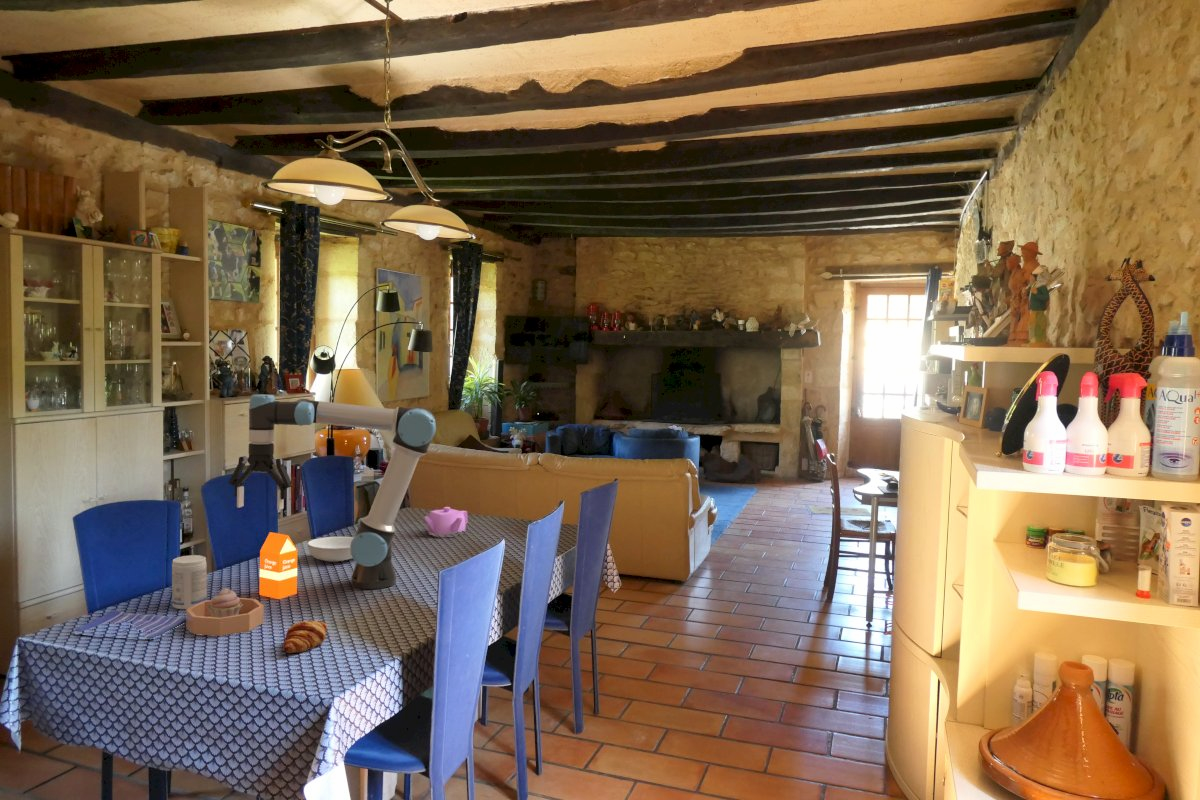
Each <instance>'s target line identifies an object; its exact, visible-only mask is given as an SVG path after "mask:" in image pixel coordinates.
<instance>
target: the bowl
mask: <svg viewBox="0 0 1200 800" xmlns="http://www.w3.org/2000/svg"><path fill="white" fill-rule="evenodd" d="M238 598H239V599H240V602H241V604H243V605H242V607H241V609H240V611H239V614H238V615H234V616H228V617H222V618H217V617H211V613H210V611H209V609H208V607H207V606H210V604H212V599H210V600H209V599H207V601H202V602H200V603H198V604H196V605H194V606H192V607H190V608H188V609H185V617H186V623H185V627H186V628H187V630H188V629H189V630H190V631H191V632H192V633H194V634H202V635H201V636H204V635H215V636H214V637H217V636H220V637H222V636H221V635H226V636H229V635H228V634H232V635H235V634H234V633H237V634H242V633H248V632H251V631H252V630H254V629H255V628H257V627H259V626H260V625H262V624H263V623H264V610H265V609H264V608H265V605H264V604H262V603H261V602H260V601H258V600H257V599H256V598H249V597H248V598H246V597H238ZM189 630H188V631H189ZM190 631H189V632H190ZM191 632H190V633H191ZM241 632H242V633H241ZM192 633H191V634H192Z"/></svg>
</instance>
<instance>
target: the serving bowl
mask: <svg viewBox="0 0 1200 800" xmlns="http://www.w3.org/2000/svg"><path fill="white" fill-rule="evenodd" d="M354 537H355V536H328V537H319V538H318V537H317V538H315V539H312V540H310V541H308V542H307V548H308V551H309V553H310V555H311V556H312V557H313V558H315V559H317V560H319V561H324V562H327V563H328V562H329V563H339V562H338V561H341V562H345V561H344V560H346V561H348V560H351V559H353V558H352V556H351V552H350V544H351V542H352V540H353V539H354Z"/></svg>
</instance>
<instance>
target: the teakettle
mask: <svg viewBox="0 0 1200 800" xmlns="http://www.w3.org/2000/svg"><path fill="white" fill-rule="evenodd" d="M468 517H469V516H468V511H467V510H458V509H455V508H454V509H453V508H451V507H450V506H445V507H443V508H442V509H434V510H430V512H429V515H426V516H423V520H424V521H425V523H426V526H427V527H426V532H427V531H428V532H431V533H434V534H437V535H445V534H452V533H457V532H462V531H465V532H466V525H467V524H469V520H468ZM428 532H427V533H428Z"/></svg>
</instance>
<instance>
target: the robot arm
mask: <svg viewBox="0 0 1200 800" xmlns="http://www.w3.org/2000/svg"><path fill="white" fill-rule="evenodd" d="M275 397H276V396H275V395H273V394H261V393H259V394H252V395H251V396H250V398H249V407H248V415H249V416H248V442H249V444H248V457H247V456H246V455H242V456H239V457H238V463H237V466H236V468H235V469H234V472H233V474H232V475H231V477H230V479H229V481H228V484H229V485H230V486H231V485H232V486H233V487H234V497H235V498H236V508H242V507H244V506H245V505H244V503H245V501H244V500H245V486H244V485H243V484H244V483H245V482H246V481H247V479H249V477H250V476H251V475H252V474H253V472H262V473H265V472H266V473H267V474H268V475H269V476H270V477H271V479H272V480H273V481H274V483H275V484H276V485H277V487H278V488H279V489H277V502H276V503H277V504H276V510H277V511H280V510H283V509H284V507H285V505H284V502H285V501H284V500H285V499H287V489H289V488H292V487H293V482H292V481H291V479H290V476H289V474H288V472H287V468H286V467H285V465H284V459H283V457H279V458H274V454H275V444H274V443H273V442H274V441H275V425H278V426H279V425H284V426H285V425H287V426H311V425H312V424H322V425H323V424H324V425H333V426H343V427H349V428H350V427H352V428H358V429H359V428H361V429H370V430H377V431H378V430H379V431H380V430H381V431H389V432H392V433H394V437H393V439H392V444H393V446H394V449H393V452H392V454H391V456H390V460H389V461H388V465H387V467H386V469H385V472H384V475H383V477H382V480H381V482H380V485H379V488H378V490H377V491H376V495H375V497H374V499H373V503H372V505H371V506H370V510H369V512H368V514H367V515H366V516H364V517H360V518H359V519H358V520H357V525H356V527H357V530H356V532H355V535H354V536H353V537H354V539H353V540H352V542H351V544H350V552H351V556H352V559H353V560H354V562H356V563H355V565H354V568H353V571H352V574H351V577H350V585H351V586H352V587H354V588H357V589H364V590H376V589H377V590H378V589H384V588H389V586H390V587H392V586H394V585H396V584H397V575H396V571H395V568H394V566H393V565H394V564H393V562H392V561H393V560H392V558H393V557H392V552H393V551H392V550H393V549H392V548H393V538H394V535H395V533H396V527H395V525H394V524H395V523H394V522H395V520H396V518H397V515H398V512H399V510H400V507H401V506H402V505H401V504H402V503H403V500H404V498H405V495H406V493H407V490H408V487H409V485H410V483H411V480H412V478H413V475H414V472H415V470H416V468H417V465H418V463H419V460H420V458H421V457H423V456H425V455H427V453H428V451H429V447H430V445H431V442H432V440H433V438H434V436H435V434H436V431H437V424H438V423H437V418H436V416H435V414H434V413H433V412H432V410H430V409H428V408H427V407H423V406H413V407H407V406H406V407H404V406H397V407H395V408H387V407H375V406H370V405H369V406H368V405H367V406H366V405H357V404H348V403H341V402H339V403H338V402H329V401H321V400H320V401H319V400H310V399H308V398H301V399H300V398H299V399H297V400H293V401H281V400H280V401H278V400H276V398H275ZM247 463H248V465H249V466H248V467H247V468H246V470H245V471H244V473H242V472H243V470H244V468H245V466H246V464H247ZM274 465H275V466H276V468H275V467H274ZM276 469H277V471H278V472H277V471H276ZM278 473H279V474H278ZM241 474H242V475H241Z"/></svg>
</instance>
